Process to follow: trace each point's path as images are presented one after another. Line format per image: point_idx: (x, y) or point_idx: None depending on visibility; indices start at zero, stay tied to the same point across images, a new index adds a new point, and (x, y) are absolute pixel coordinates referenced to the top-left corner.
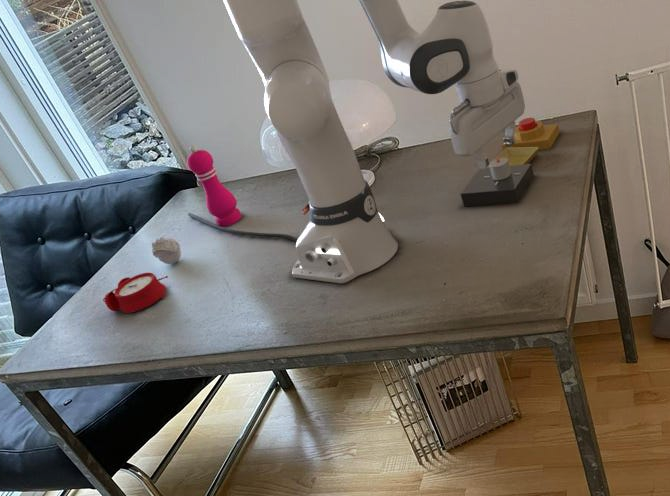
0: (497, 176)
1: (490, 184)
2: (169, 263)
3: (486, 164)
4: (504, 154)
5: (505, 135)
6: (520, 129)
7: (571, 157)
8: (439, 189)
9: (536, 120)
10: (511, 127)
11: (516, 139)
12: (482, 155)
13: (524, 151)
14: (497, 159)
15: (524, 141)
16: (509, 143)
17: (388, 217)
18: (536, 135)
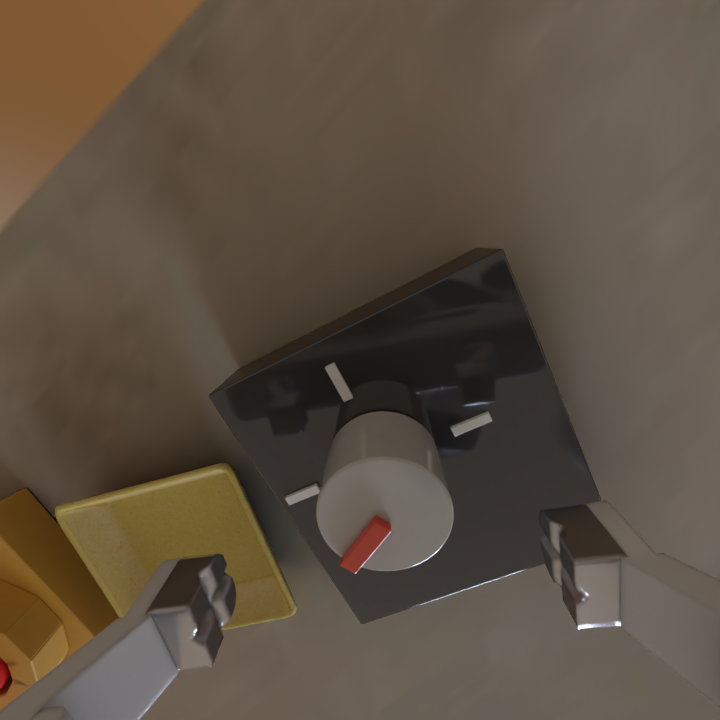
0: (438, 453)
1: (487, 452)
2: None
3: (591, 517)
4: None
5: (169, 682)
6: (3, 684)
7: (17, 324)
8: (472, 679)
9: None
10: (66, 717)
11: (67, 651)
12: (708, 603)
13: (112, 557)
14: (369, 543)
15: (58, 608)
16: (213, 583)
17: (711, 712)
18: None
